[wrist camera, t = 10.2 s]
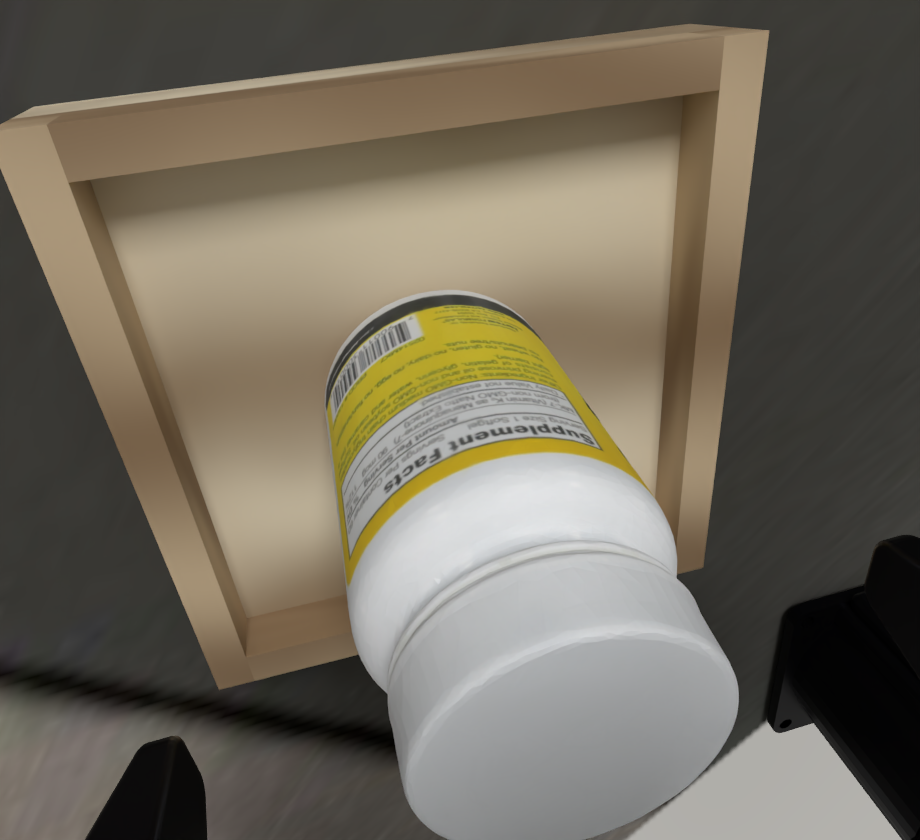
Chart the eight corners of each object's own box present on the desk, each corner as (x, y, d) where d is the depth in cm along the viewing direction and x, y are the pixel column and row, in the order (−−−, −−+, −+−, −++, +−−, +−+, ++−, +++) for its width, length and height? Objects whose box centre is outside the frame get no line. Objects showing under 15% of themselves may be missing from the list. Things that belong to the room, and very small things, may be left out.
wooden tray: (645, 493, 21) (702, 567, 18) (224, 591, 19) (219, 689, 16) (674, 22, 14) (769, 30, 12) (42, 101, 13) (-15, 132, 10)
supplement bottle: (530, 476, 17) (708, 838, 10) (324, 488, 16) (363, 905, 9) (563, 280, 14) (833, 584, 7) (321, 280, 13) (369, 634, 6)
